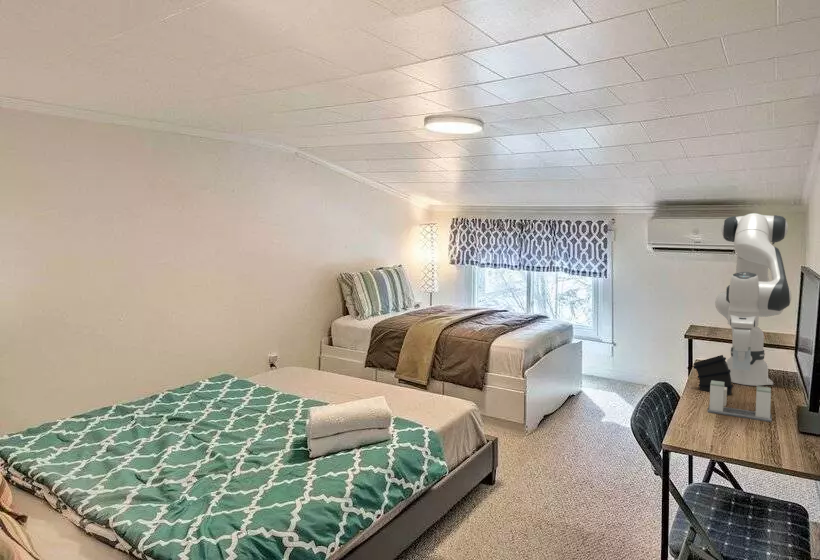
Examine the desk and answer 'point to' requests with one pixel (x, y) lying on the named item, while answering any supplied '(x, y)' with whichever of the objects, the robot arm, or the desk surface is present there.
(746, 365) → the block
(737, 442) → the desk surface
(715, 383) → the block
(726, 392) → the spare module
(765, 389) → the block
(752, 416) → the rail plate
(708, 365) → the black ridged block
